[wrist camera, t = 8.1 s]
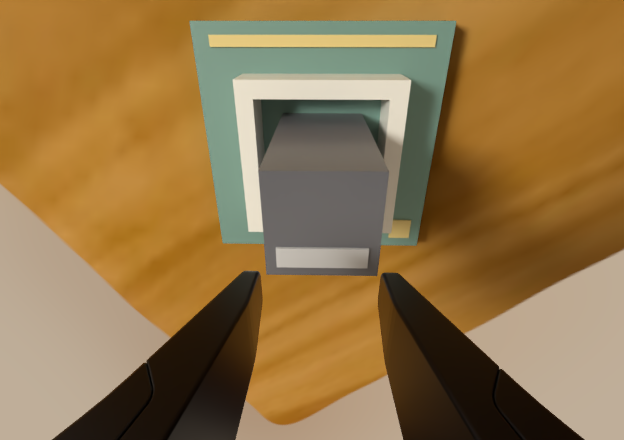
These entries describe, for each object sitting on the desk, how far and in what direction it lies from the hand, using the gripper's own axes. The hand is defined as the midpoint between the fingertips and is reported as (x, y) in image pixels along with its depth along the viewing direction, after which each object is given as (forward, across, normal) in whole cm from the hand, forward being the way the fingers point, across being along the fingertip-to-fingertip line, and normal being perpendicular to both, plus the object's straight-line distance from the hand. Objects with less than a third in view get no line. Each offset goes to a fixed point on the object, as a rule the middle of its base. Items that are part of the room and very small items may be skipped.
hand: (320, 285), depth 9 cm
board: (+12, 0, 0) cm, 12 cm away
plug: (+11, 0, 0) cm, 11 cm away
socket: (+12, 0, 0) cm, 12 cm away
